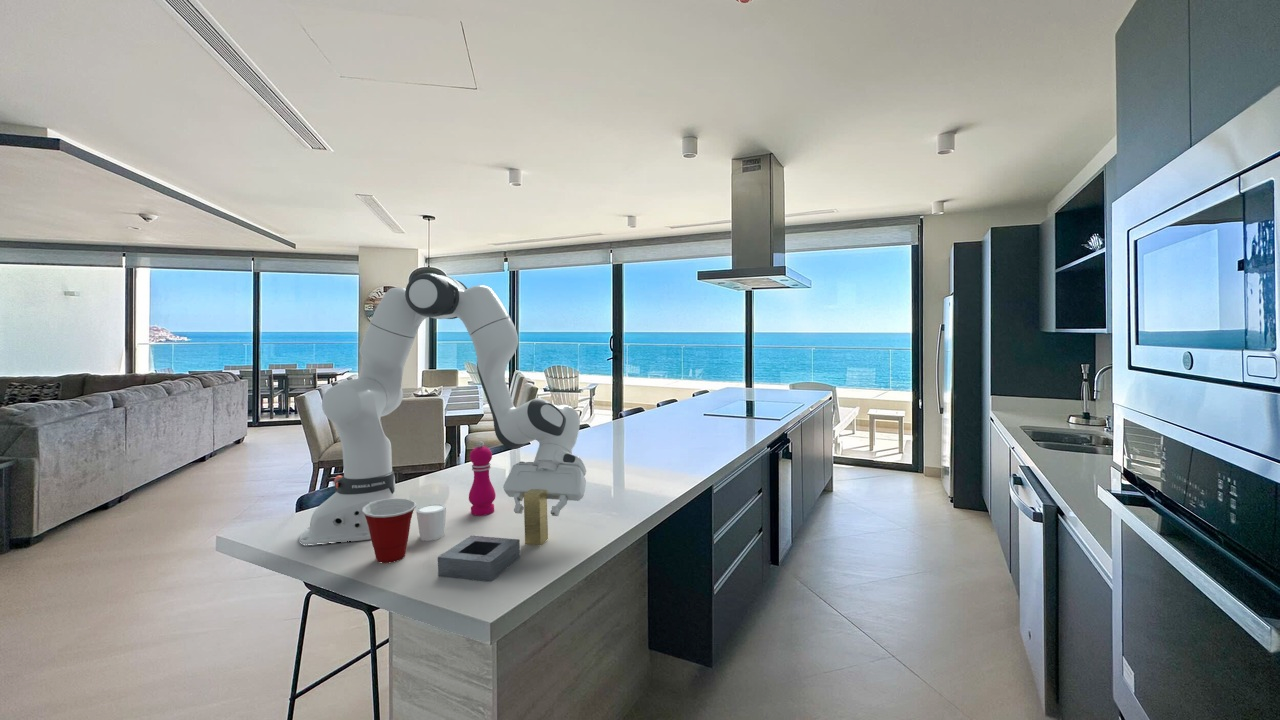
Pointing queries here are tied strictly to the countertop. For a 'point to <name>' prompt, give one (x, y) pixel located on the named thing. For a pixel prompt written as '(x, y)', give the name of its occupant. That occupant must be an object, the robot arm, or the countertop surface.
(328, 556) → the countertop surface
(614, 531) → the countertop surface
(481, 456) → the pepper mill
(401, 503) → the plastic cup
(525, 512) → the brass post
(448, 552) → the block
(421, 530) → the white cylinder
